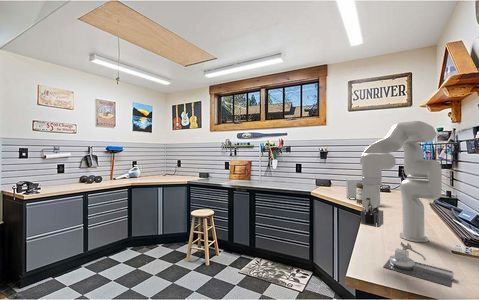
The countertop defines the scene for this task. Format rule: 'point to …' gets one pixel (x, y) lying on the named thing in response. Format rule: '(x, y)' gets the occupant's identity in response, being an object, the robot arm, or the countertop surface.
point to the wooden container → (359, 192)
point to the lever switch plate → (418, 268)
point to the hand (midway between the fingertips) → (372, 221)
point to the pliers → (410, 249)
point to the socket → (377, 218)
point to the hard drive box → (352, 187)
